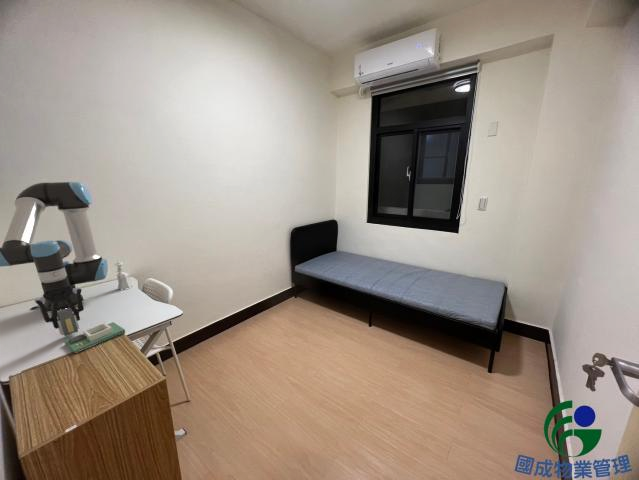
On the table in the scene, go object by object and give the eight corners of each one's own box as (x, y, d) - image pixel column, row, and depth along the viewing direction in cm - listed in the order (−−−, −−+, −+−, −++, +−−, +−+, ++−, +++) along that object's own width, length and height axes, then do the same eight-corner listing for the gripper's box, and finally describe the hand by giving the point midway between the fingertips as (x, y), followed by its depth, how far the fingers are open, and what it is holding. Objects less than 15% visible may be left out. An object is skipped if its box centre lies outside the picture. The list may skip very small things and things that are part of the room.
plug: (62, 333, 104) (55, 311, 102) (74, 328, 108) (68, 307, 105) (65, 336, 102) (59, 314, 100) (78, 331, 105) (72, 310, 103)
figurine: (116, 288, 154) (109, 261, 150) (131, 284, 160) (125, 257, 156) (118, 291, 150) (112, 263, 146) (134, 287, 156) (128, 259, 152)
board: (65, 344, 99) (63, 336, 98) (113, 325, 112) (112, 317, 112) (75, 354, 93) (72, 345, 92) (125, 332, 106) (123, 324, 105)
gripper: (24, 289, 90) (43, 345, 96) (85, 274, 104) (98, 323, 110) (20, 285, 94) (38, 339, 100) (79, 271, 108) (92, 318, 114)
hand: (69, 330), depth 105 cm, fingers closed on plug, 4 cm apart
